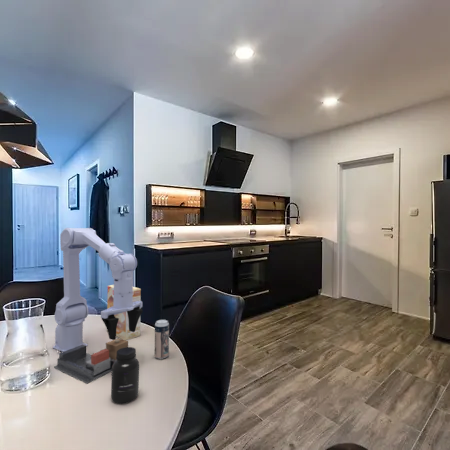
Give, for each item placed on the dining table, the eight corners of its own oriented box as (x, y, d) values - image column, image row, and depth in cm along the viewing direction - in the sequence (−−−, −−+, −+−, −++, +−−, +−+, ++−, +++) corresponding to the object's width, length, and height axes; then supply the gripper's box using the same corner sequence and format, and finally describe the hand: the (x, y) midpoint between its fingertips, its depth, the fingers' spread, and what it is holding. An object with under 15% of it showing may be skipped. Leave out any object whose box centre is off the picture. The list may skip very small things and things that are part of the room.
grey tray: (54, 367, 88) (54, 355, 88) (86, 354, 97) (87, 342, 97) (87, 383, 79) (87, 369, 79) (119, 367, 89) (119, 354, 89)
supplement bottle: (122, 408, 69) (123, 359, 69) (105, 399, 72) (106, 352, 72) (144, 394, 75) (144, 348, 75) (127, 386, 78) (127, 343, 78)
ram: (85, 371, 84) (85, 353, 84) (102, 364, 89) (102, 346, 89) (93, 375, 82) (94, 356, 82) (110, 367, 87) (110, 349, 87)
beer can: (165, 360, 94) (165, 324, 94) (151, 358, 95) (152, 323, 95) (170, 354, 98) (171, 319, 98) (158, 352, 99) (158, 318, 99)
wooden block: (105, 357, 95) (106, 341, 95) (118, 352, 100) (118, 336, 100) (115, 361, 93) (115, 344, 93) (127, 355, 97) (128, 339, 97)
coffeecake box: (106, 331, 119) (106, 285, 119) (121, 327, 124) (122, 283, 125) (124, 341, 109) (125, 290, 109) (140, 335, 115) (141, 288, 115)
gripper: (111, 298, 81) (111, 345, 81) (149, 289, 94) (148, 330, 94) (96, 295, 85) (96, 340, 85) (134, 287, 97) (133, 326, 97)
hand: (122, 334), depth 90 cm, fingers open, 7 cm apart
